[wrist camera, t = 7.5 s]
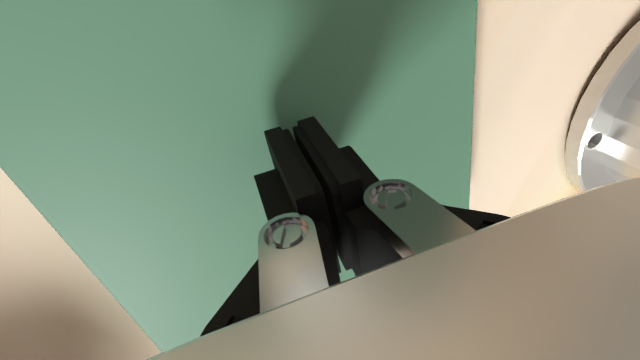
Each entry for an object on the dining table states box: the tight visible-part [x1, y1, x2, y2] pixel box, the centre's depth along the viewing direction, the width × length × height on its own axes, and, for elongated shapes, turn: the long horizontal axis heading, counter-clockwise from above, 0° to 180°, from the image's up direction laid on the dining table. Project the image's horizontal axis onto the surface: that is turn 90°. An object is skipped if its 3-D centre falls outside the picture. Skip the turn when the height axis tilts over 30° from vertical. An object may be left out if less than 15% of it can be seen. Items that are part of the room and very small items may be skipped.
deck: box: [0, 0, 477, 353], centre depth 11 cm, size 15×24×2 cm, turn 12°
